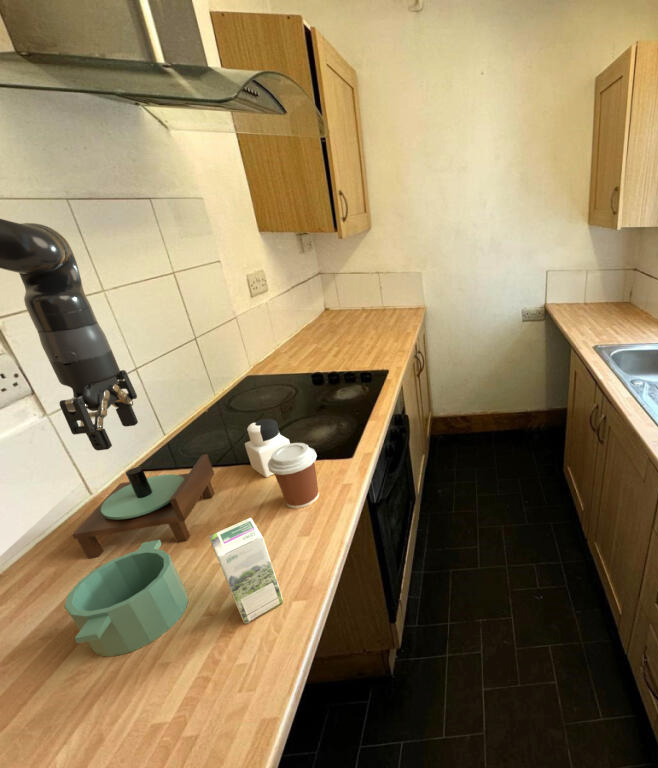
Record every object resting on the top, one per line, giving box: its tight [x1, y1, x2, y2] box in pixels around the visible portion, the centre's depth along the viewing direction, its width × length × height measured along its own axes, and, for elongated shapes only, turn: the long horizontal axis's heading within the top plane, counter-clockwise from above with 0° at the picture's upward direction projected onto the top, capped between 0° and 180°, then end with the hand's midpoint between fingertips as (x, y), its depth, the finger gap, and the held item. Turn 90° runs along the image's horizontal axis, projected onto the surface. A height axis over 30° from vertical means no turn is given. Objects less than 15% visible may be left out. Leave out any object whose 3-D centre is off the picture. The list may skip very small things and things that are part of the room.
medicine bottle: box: [244, 418, 291, 478], centre depth 99 cm, size 7×7×12 cm
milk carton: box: [208, 517, 284, 625], centre depth 64 cm, size 6×6×14 cm
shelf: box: [71, 453, 215, 560], centre depth 82 cm, size 17×15×10 cm
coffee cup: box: [267, 442, 320, 509], centre depth 88 cm, size 9×9×12 cm
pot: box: [64, 539, 189, 657], centre depth 63 cm, size 12×17×8 cm
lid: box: [101, 466, 184, 520], centre depth 80 cm, size 13×13×7 cm
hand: (118, 436), depth 75 cm, fingers open, 8 cm apart
